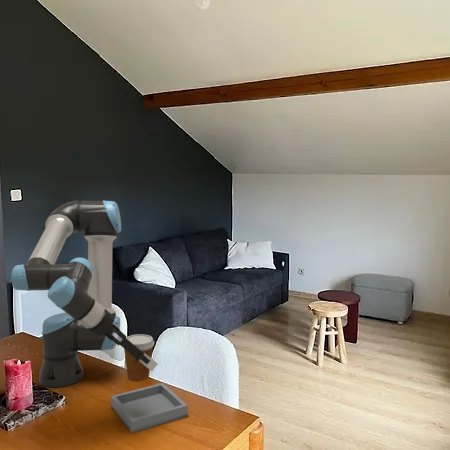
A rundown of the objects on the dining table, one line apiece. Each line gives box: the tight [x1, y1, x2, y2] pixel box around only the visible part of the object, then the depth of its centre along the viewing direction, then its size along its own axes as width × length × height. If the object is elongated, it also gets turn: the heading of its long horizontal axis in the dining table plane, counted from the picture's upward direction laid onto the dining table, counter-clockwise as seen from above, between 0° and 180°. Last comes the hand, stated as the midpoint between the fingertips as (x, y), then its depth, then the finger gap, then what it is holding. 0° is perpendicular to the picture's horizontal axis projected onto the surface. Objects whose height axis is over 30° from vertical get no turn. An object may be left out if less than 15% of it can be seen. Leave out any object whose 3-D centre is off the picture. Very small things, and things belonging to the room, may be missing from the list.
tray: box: [110, 382, 189, 434], centre depth 147 cm, size 18×18×4 cm
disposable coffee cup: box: [123, 334, 155, 383], centre depth 143 cm, size 10×10×12 cm
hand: (148, 361), depth 145 cm, fingers closed on disposable coffee cup, 9 cm apart
